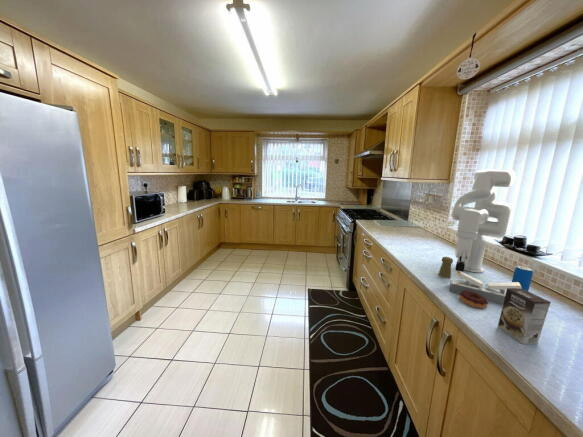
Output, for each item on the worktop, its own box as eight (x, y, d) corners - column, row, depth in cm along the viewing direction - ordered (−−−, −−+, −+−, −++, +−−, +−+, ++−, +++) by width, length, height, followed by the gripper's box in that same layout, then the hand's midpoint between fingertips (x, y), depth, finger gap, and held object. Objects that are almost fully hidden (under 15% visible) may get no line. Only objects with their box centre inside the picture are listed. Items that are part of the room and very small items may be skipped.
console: (449, 284, 118) (451, 274, 117) (520, 302, 104) (523, 290, 103) (450, 291, 111) (452, 280, 110) (525, 310, 97) (529, 298, 96)
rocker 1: (454, 272, 115) (456, 269, 114) (479, 284, 110) (481, 281, 109) (455, 275, 111) (457, 271, 111) (480, 287, 107) (483, 284, 106)
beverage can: (524, 288, 117) (529, 266, 115) (530, 294, 111) (536, 271, 109) (508, 285, 120) (513, 264, 117) (513, 291, 114) (519, 268, 111)
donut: (491, 311, 96) (493, 303, 95) (463, 306, 99) (465, 298, 98) (480, 299, 105) (482, 292, 104) (456, 295, 108) (457, 287, 107)
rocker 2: (487, 286, 108) (487, 282, 108) (519, 286, 102) (518, 282, 102) (489, 289, 105) (488, 285, 105) (522, 289, 99) (521, 285, 99)
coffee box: (496, 326, 86) (505, 287, 82) (511, 326, 86) (521, 287, 83) (522, 344, 77) (534, 301, 73) (539, 344, 77) (551, 301, 74)
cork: (452, 278, 125) (456, 260, 123) (440, 277, 127) (444, 258, 124) (447, 274, 131) (451, 256, 129) (436, 272, 132) (439, 255, 130)
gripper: (455, 230, 116) (449, 264, 120) (458, 236, 104) (450, 273, 108) (474, 233, 113) (467, 267, 116) (478, 239, 100) (470, 278, 104)
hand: (459, 270), depth 112 cm, fingers closed
